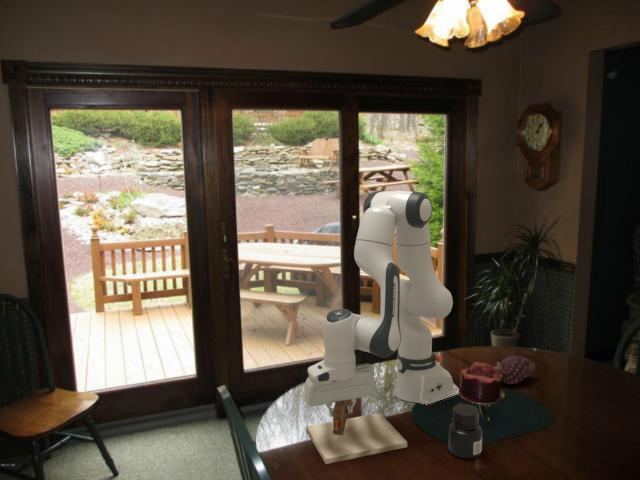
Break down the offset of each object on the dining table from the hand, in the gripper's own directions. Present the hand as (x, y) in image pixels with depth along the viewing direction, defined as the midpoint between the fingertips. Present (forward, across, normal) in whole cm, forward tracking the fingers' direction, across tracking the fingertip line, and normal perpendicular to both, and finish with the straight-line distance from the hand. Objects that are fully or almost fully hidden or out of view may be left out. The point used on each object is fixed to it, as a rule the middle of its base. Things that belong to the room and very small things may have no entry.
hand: (340, 414), depth 148 cm
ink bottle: (+9, -30, +16) cm, 35 cm away
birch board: (+8, -4, 0) cm, 9 cm away
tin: (+4, +1, 0) cm, 4 cm away
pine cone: (+9, -71, -15) cm, 73 cm away
